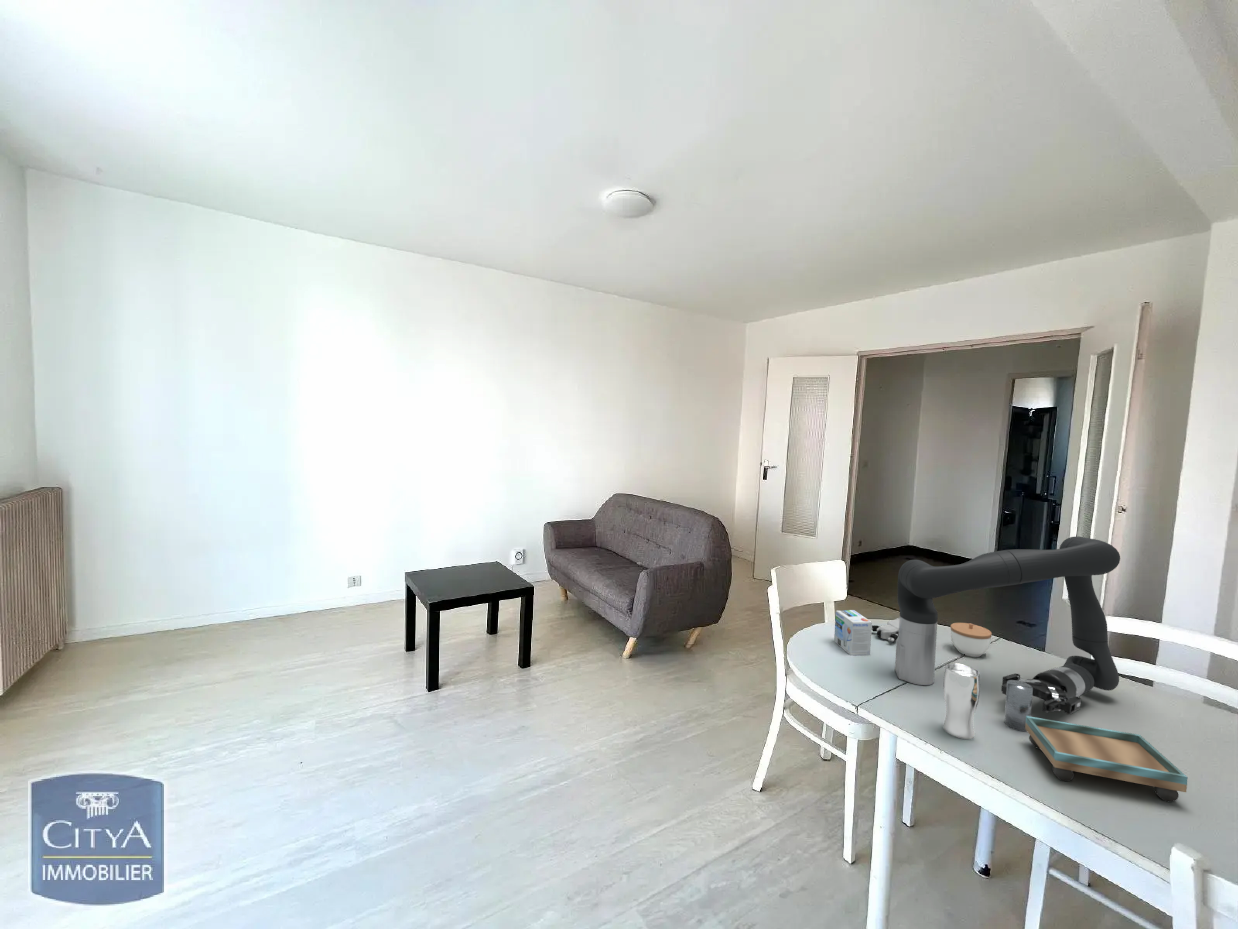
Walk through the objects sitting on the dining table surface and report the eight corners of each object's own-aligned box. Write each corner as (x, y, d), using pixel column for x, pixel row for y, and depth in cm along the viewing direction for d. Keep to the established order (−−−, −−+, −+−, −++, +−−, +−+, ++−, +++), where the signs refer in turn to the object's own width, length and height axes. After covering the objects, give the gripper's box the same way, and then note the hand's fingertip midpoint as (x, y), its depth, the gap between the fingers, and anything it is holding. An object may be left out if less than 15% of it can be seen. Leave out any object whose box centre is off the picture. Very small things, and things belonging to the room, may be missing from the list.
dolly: (1053, 781, 101) (1055, 753, 101) (1024, 741, 114) (1026, 716, 114) (1184, 807, 95) (1187, 777, 94) (1137, 761, 108) (1139, 734, 107)
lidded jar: (964, 643, 167) (965, 616, 167) (998, 657, 157) (1000, 628, 157) (941, 648, 164) (943, 620, 163) (974, 662, 154) (976, 632, 153)
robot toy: (891, 650, 164) (929, 642, 168) (891, 636, 164) (929, 629, 167) (864, 635, 176) (899, 628, 180) (864, 622, 175) (899, 615, 179)
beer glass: (977, 744, 113) (982, 679, 112) (941, 734, 117) (944, 671, 116) (975, 729, 119) (979, 667, 118) (940, 720, 123) (944, 660, 122)
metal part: (1008, 729, 119) (1011, 688, 119) (1001, 718, 124) (1003, 678, 123) (1033, 733, 118) (1036, 691, 117) (1024, 722, 122) (1027, 682, 121)
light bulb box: (833, 641, 168) (834, 609, 167) (852, 641, 168) (854, 609, 168) (850, 656, 157) (852, 622, 156) (871, 655, 158) (873, 621, 157)
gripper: (1027, 659, 134) (992, 670, 127) (1096, 683, 122) (1061, 698, 115) (1025, 686, 135) (990, 699, 128) (1093, 713, 122) (1058, 730, 115)
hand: (1023, 699), depth 121 cm, fingers open, 8 cm apart
